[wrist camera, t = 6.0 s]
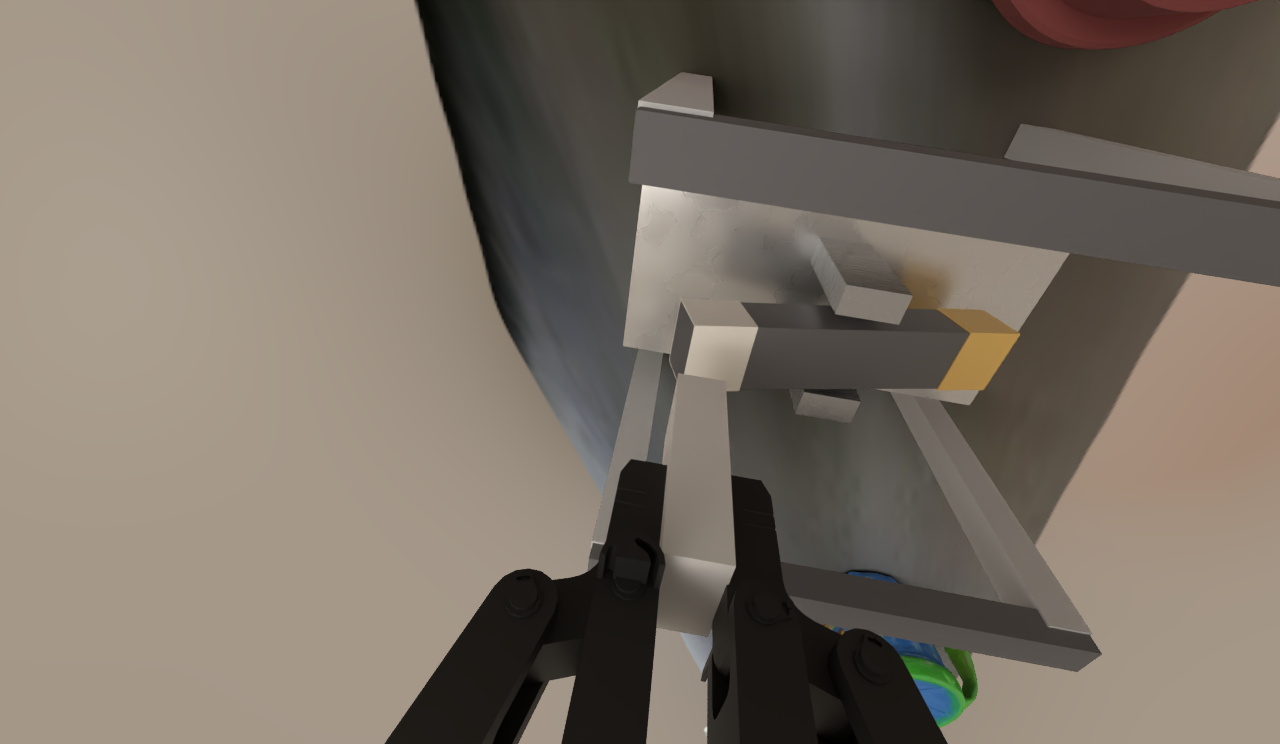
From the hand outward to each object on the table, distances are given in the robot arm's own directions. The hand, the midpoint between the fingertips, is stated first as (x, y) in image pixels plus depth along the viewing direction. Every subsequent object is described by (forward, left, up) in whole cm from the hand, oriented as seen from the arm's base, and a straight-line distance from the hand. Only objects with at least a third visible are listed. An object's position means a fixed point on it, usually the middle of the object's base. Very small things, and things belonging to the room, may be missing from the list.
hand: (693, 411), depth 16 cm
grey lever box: (0, +6, -17) cm, 18 cm away
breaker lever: (0, +6, -7) cm, 9 cm away
